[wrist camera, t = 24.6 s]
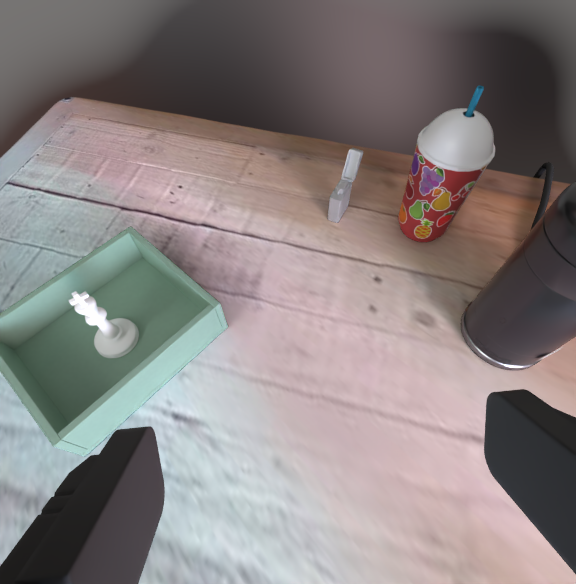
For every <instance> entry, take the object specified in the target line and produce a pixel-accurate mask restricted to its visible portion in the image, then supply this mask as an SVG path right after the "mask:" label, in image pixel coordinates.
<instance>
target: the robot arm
mask: <svg viewBox="0 0 576 584" xmlns="http://www.w3.org/2000/svg"><path fill="white" fill-rule="evenodd" d="M545 170H546V178H545V183H544V188H543V193H542V198H541V202H540V205H539V208H538V211H537V214H536V216H535V219H534V222H533V225H532V227H531V230H530V232H529V233H528V235H527V236H526V237H525V238H524V240H523V241H522V242H521V243H520V245H519V246H518V247H517V248H516V249H515V251H514V252H513V253H512V254H511V256H510V257H509V258H508V259H507V260H506V262H505V263H504V264H503V265H502V267H501V268H500V269H499V270H498V271H497V273H496V274H495V275H494V276H493V278H492V279H491V280H490V281H489V283H488V284H487V285H486V286H485V287H484V289H483V290H482V291H481V292H480V293H479V295H478V296H477V297H476V298H475V300H473V301H472V302H471V303H470V304H469V305H468V307H467V308H466V309H465V311H464V312H463V314H462V318H461V331H462V334H463V337H464V339H465V341H466V343H467V344H468V346H469V347H470V348H471V350H472V351H473V352H474V353H475V354H476V355H477V356H478V357H480V358H481V359H482V360H484V361H485V362H487V363H489V364H491V365H493V366H495V367H498V368H501V369H506V370H523V369H527V368H529V367H531V366H533V365H535V364H536V363H538V362H539V361H540V360H542V359H543V358H545V357H547V356H549V355H551V354H553V353H555V352H556V351H555V350H556V349H558V348H559V347H561V346H562V345H564V344H565V343H567V342H568V341H570V340H571V339H573V338H574V337H576V182H574V183H573V184H571V185H570V186H568V187H567V188H566V189H565V190H564V191H563V192H562V193H561V194H560V195H559V196H558V198H557V199H556V200H555V201H554V203H553V204H552V205H551V206H550V207H549V209H548V210H547V211H546V212H545V210H546V207H547V203H548V200H549V195H550V190H551V184H552V179H553V165H552V164H551V163H550V162H548V163H545V164H543V165H542V166H541V167H540V168H539V170H538V171H537V172H536V174H535V175H534V177H533V178H540V177H541V175H542V174H543V173H544V171H545ZM544 213H545V214H544ZM562 348H563V347H562ZM560 349H561V348H560ZM558 350H559V349H558ZM558 350H557V351H558ZM553 351H555V352H553ZM551 352H553V353H551ZM550 353H551V354H550ZM548 354H549V355H548ZM484 453H485V459H486V462H487V465H488V467H489V470H490V472H491V474H492V475H493V477H494V478H495V479H496V481H497V482H498V483H499V484H500V485H501V486H502V488H503V489H504V490H505V491H506V492H507V494H508V495H509V496H510V497H511V498H512V499H513V501H514V502H515V503H516V504H517V505H518V507H519V508H520V509H521V510H522V511H523V512H524V514H525V515H526V516H527V517H528V518H529V520H530V521H531V522H532V523H533V524H534V525H535V527H536V528H537V529H538V530H539V531H540V533H541V534H542V535H543V536H544V537H545V538H546V540H547V541H548V542H549V543H550V544H551V546H552V547H553V548H554V549H555V550H556V551H557V553H558V554H559V555H560V556H561V557H562V559H563V560H564V561H565V562H566V563H567V564H568V566H569V567H570V568H571V569H572V570H573V572H574V573H575V574H576V418H575V417H573V416H571V415H568V414H566V413H564V412H561V411H559V410H557V409H554V408H552V407H551V406H549V405H548V404H547V403H545V402H544V401H542V400H541V399H539V398H538V397H537V396H535V395H534V394H532V393H531V392H529V391H528V390H524V389H521V390H512V391H502V392H493V393H491V394H490V395H489V396H488V398H487V404H486V423H485V443H484ZM164 493H165V492H164V480H163V475H162V469H161V464H160V458H159V452H158V447H157V441H156V436H155V432H154V430H153V428H152V427H140V428H130V429H120V430H116V431H115V432H114V433H113V435H112V436H111V438H110V439H109V441H108V442H107V444H106V445H105V447H104V448H103V450H102V451H101V453H100V454H99V455H91V456H90V457H89V458H87V459H86V460H85V461H84V462H82V463H81V464H80V465H79V466H77V467H76V468H75V469H74V470H72V471H71V472H70V473H69V474H68V476H67V477H66V478H65V480H64V481H63V482H62V484H61V485H60V486H59V488H58V489H57V490H56V492H55V496H54V497H51V499H50V500H49V501H48V503H47V504H46V505H45V507H44V508H43V509H42V513H41V515H38V516H37V517H36V519H35V520H34V522H33V523H32V524H31V526H30V527H29V528H28V530H27V531H26V532H25V534H24V535H23V536H22V538H21V539H20V540H19V542H18V543H17V545H16V546H15V547H14V549H13V550H12V551H11V553H10V554H9V555H8V557H7V558H6V559H5V561H4V562H3V563H2V565H1V566H0V584H138V582H139V579H140V576H141V573H142V571H143V568H144V565H145V562H146V559H147V556H148V553H149V550H150V547H151V544H152V541H153V538H154V535H155V532H156V529H157V526H158V523H159V520H160V517H161V514H162V511H163V505H164Z"/></svg>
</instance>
